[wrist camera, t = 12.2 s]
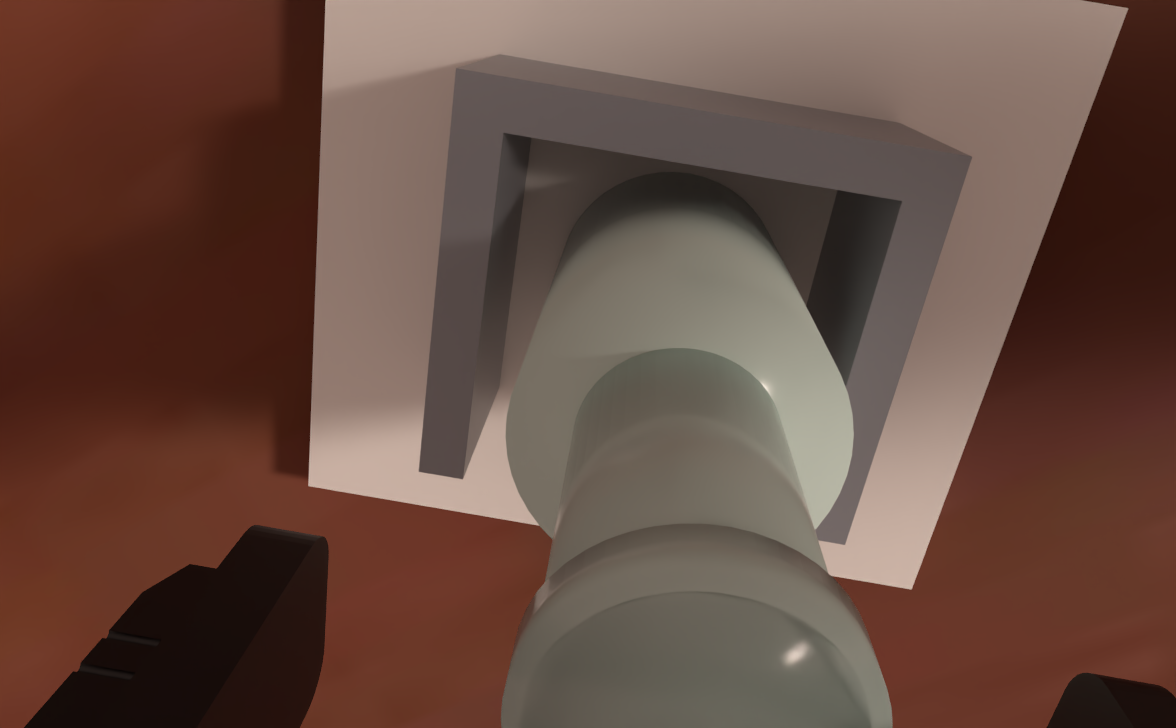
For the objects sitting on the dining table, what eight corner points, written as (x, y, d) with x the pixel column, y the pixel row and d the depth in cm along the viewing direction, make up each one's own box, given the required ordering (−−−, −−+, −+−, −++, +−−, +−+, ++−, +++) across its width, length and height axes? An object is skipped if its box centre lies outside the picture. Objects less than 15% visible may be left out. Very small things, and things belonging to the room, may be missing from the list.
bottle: (801, 192, 21) (1083, 546, 7) (749, 396, 23) (891, 963, 10) (577, 153, 21) (437, 435, 7) (545, 361, 23) (392, 877, 10)
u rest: (1102, 8, 20) (1279, 9, 15) (900, 564, 26) (969, 718, 21) (347, -122, 20) (229, -172, 15) (322, 465, 26) (232, 592, 21)
